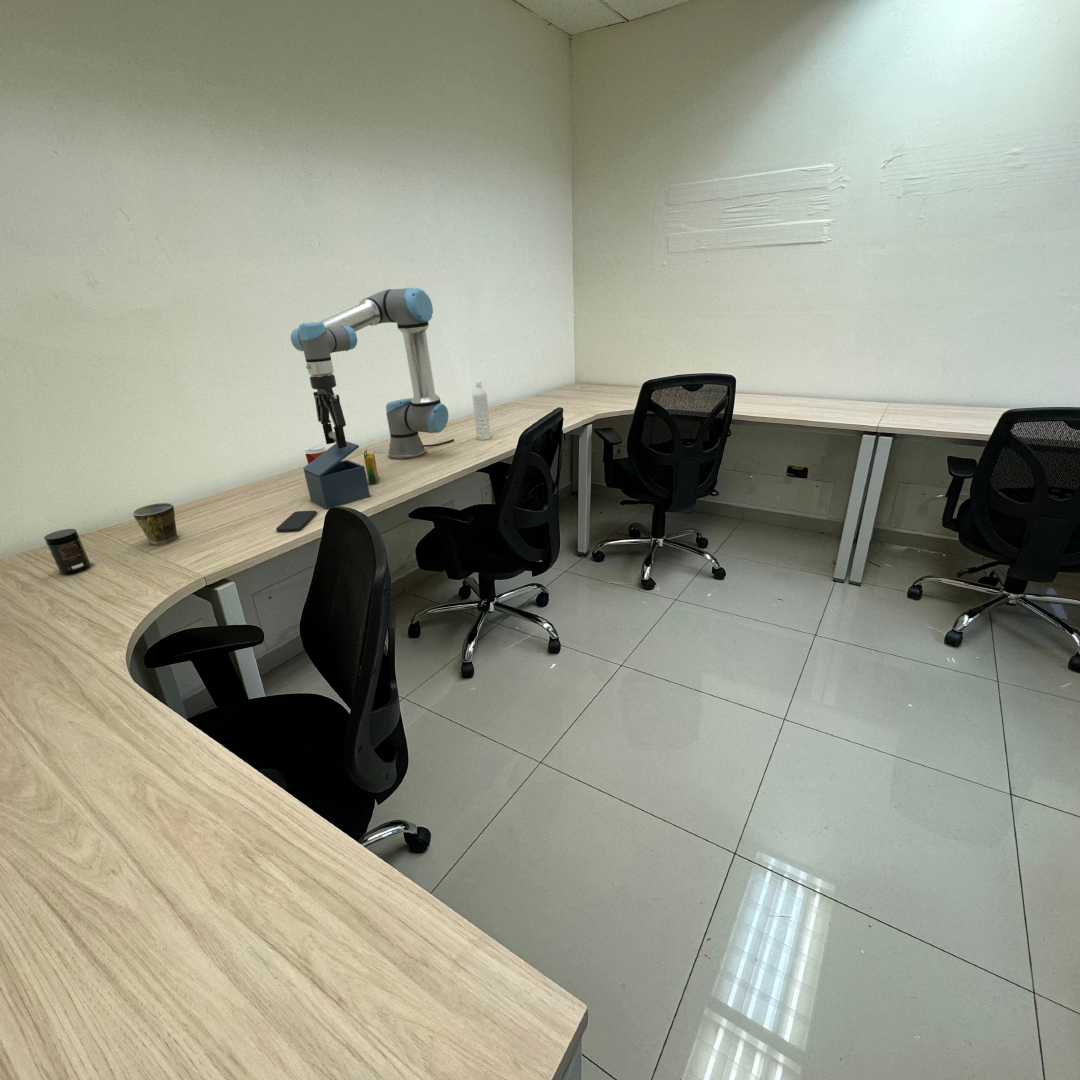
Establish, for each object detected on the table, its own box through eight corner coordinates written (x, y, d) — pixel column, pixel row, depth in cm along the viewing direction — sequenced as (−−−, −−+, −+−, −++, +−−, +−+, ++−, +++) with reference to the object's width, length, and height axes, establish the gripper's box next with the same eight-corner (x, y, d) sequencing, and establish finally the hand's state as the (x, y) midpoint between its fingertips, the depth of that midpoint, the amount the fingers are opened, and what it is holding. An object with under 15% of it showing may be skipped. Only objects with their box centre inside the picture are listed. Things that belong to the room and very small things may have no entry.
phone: (317, 510, 178) (299, 528, 164) (318, 512, 178) (299, 530, 164) (294, 511, 178) (274, 529, 164) (295, 513, 178) (275, 532, 164)
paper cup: (326, 487, 201) (317, 450, 195) (307, 487, 203) (298, 450, 197) (337, 480, 208) (329, 444, 202) (319, 480, 210) (311, 444, 204)
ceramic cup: (148, 537, 166) (136, 506, 162) (186, 530, 169) (175, 500, 165) (139, 554, 155) (126, 521, 151) (179, 546, 158) (168, 514, 154)
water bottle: (491, 439, 254) (486, 383, 243) (476, 440, 253) (471, 384, 243) (490, 435, 262) (485, 381, 251) (476, 436, 261) (471, 382, 251)
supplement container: (84, 561, 152) (69, 527, 148) (96, 566, 149) (81, 531, 145) (55, 572, 147) (38, 536, 143) (67, 577, 144) (50, 541, 139)
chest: (353, 488, 199) (347, 459, 194) (370, 496, 190) (364, 466, 186) (310, 500, 189) (303, 470, 184) (326, 509, 181) (319, 477, 176)
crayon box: (376, 483, 202) (371, 453, 197) (368, 484, 202) (362, 453, 197) (378, 477, 209) (373, 447, 204) (370, 478, 209) (365, 448, 204)
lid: (342, 441, 191) (332, 426, 187) (359, 446, 183) (349, 431, 179) (304, 470, 185) (293, 455, 181) (320, 477, 176) (308, 462, 172)
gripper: (296, 374, 179) (312, 443, 188) (324, 379, 165) (340, 453, 174) (319, 371, 183) (333, 438, 193) (348, 375, 169) (361, 447, 179)
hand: (336, 445), depth 184 cm, fingers closed on lid, 8 cm apart
